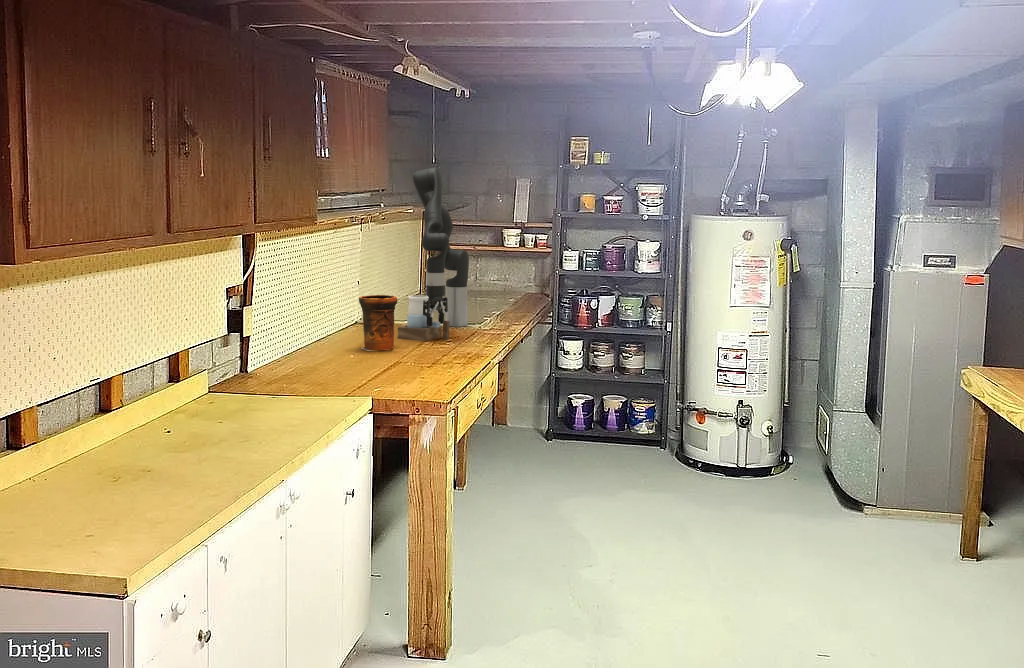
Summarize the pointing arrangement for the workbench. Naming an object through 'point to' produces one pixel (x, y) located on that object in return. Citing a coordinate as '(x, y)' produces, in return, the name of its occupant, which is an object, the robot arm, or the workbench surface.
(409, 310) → the jar
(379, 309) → the vessel
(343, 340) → the workbench surface
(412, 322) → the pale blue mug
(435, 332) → the cradle
